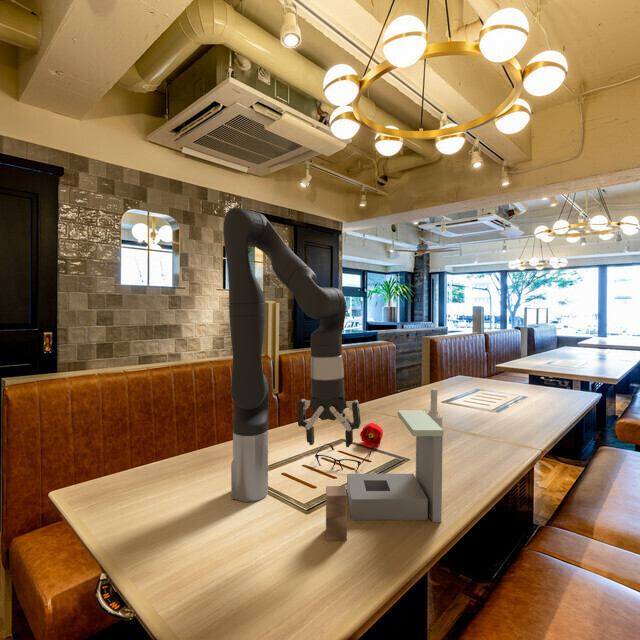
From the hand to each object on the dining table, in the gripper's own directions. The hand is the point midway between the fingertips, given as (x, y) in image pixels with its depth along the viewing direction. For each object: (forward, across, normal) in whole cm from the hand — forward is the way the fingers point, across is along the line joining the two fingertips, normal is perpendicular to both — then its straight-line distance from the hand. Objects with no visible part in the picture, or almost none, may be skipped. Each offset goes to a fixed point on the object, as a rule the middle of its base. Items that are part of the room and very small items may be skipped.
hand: (329, 445), depth 90 cm
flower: (+20, +3, +55) cm, 59 cm away
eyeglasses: (+20, -4, +38) cm, 43 cm away
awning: (+20, +19, +14) cm, 31 cm away
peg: (+19, +2, -4) cm, 19 cm away
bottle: (+20, +24, +38) cm, 49 cm away
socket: (+19, +11, +12) cm, 25 cm away
